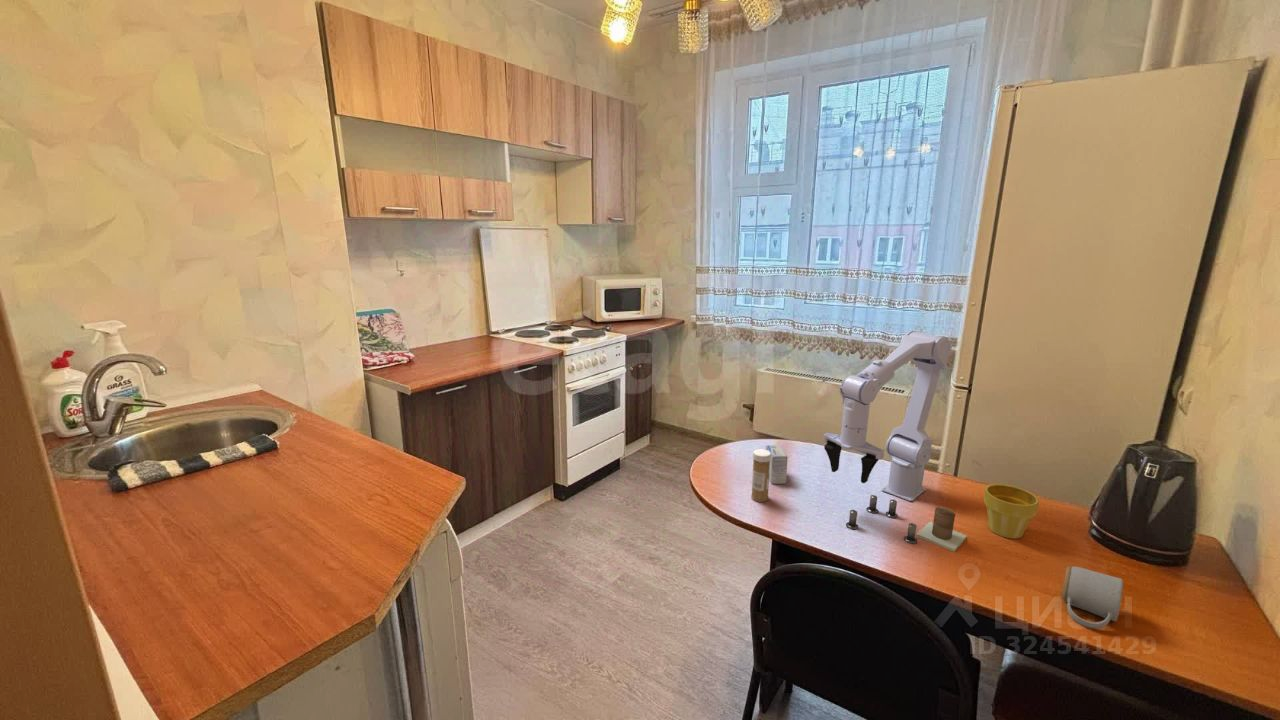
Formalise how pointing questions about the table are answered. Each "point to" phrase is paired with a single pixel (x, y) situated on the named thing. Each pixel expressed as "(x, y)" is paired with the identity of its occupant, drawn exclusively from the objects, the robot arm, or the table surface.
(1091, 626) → the ceramic mug
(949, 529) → the walnut peg
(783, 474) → the medicine box
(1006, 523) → the plant pot
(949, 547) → the pad
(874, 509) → the slalom posts
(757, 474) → the sprinkles bottle
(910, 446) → the robot arm
